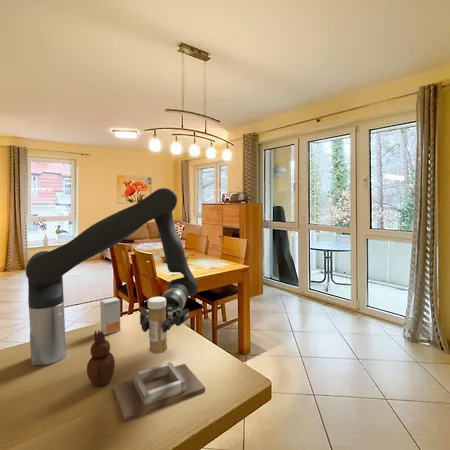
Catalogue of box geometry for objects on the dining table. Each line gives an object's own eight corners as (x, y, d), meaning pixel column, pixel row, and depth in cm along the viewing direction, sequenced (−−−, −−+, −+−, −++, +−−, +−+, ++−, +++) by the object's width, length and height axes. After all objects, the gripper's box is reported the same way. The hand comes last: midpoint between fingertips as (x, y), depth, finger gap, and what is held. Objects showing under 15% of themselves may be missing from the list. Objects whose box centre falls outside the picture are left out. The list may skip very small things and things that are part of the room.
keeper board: (124, 421, 65) (124, 406, 64) (113, 389, 76) (112, 376, 75) (205, 391, 75) (204, 377, 75) (184, 366, 86) (184, 355, 86)
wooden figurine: (97, 392, 74) (94, 335, 73) (83, 385, 78) (81, 330, 76) (119, 379, 80) (117, 325, 79) (106, 372, 83) (104, 321, 82)
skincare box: (104, 335, 107) (103, 303, 106) (100, 331, 110) (99, 300, 109) (121, 330, 111) (120, 299, 110) (116, 326, 114) (115, 296, 113)
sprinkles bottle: (170, 351, 74) (168, 299, 73) (152, 356, 71) (151, 303, 70) (163, 344, 78) (162, 294, 77) (146, 348, 75) (144, 298, 74)
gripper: (147, 291, 88) (125, 312, 71) (194, 291, 87) (183, 314, 70) (148, 315, 89) (126, 342, 72) (195, 316, 88) (183, 344, 71)
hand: (154, 328), depth 71 cm, fingers closed on sprinkles bottle, 4 cm apart
